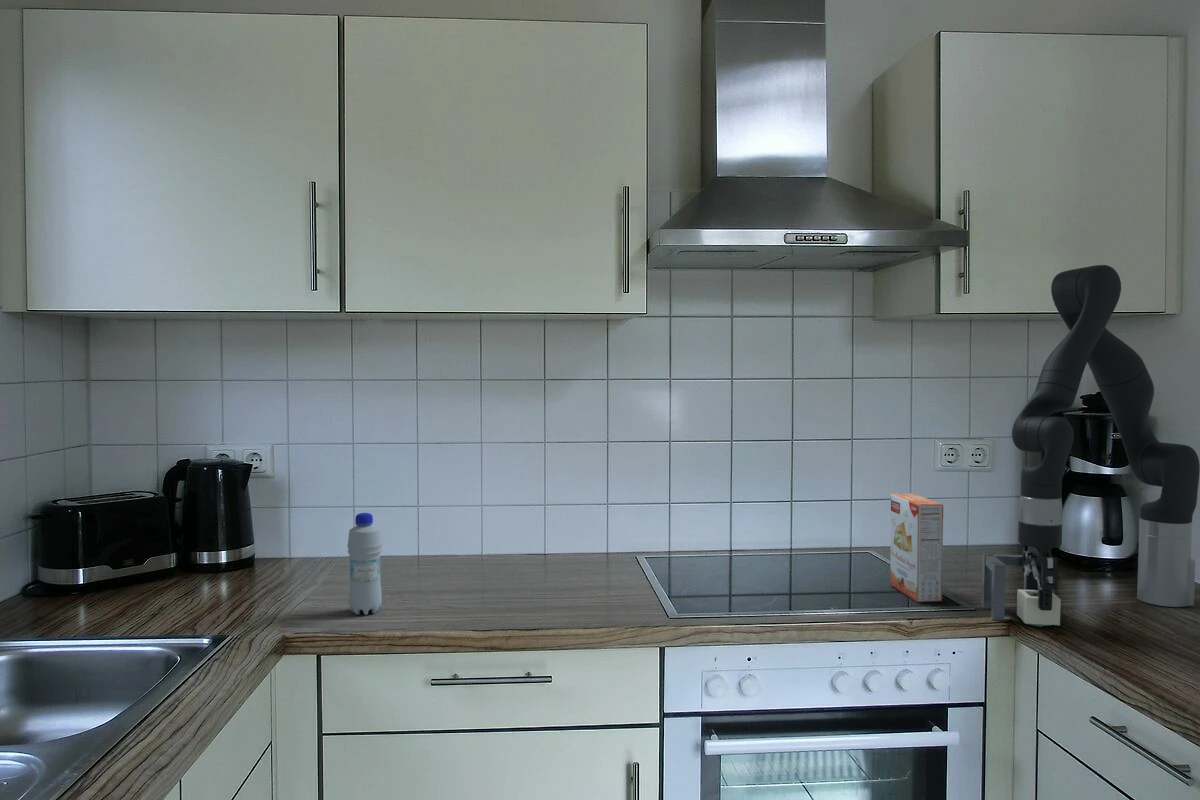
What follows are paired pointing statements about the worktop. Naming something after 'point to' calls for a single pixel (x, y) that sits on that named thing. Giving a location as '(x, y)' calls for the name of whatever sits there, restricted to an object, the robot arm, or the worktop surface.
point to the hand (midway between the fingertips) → (1038, 603)
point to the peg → (1036, 624)
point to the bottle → (364, 565)
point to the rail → (996, 582)
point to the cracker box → (916, 547)
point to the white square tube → (1037, 609)
